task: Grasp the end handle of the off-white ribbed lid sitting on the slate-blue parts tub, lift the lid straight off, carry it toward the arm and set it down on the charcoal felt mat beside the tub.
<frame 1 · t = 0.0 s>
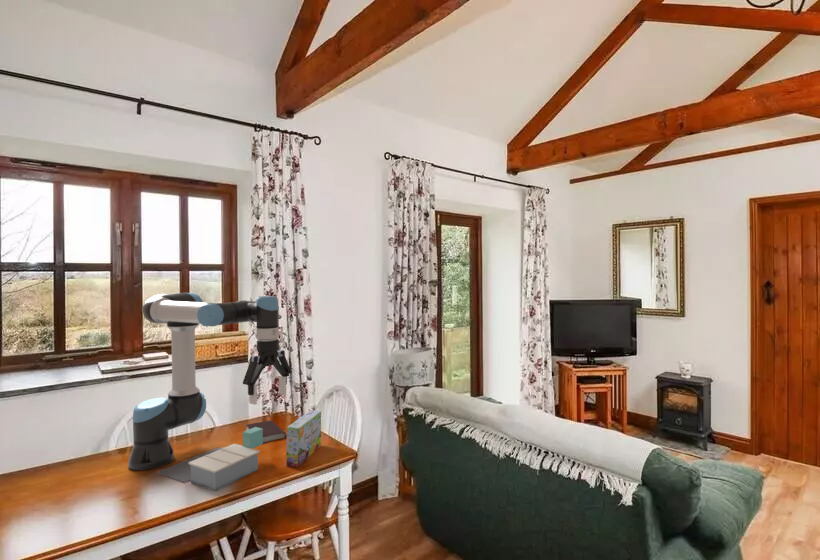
hand: (268, 398, 156), 28 cm above the table, fingers open, 13 cm apart
snack box: (304, 456, 174), on the table
mat: (203, 463, 167), on the table
book: (265, 435, 198), on the table
parts: (226, 470, 157), in the tub, point 1 cm above the table
tub: (225, 475, 157), on the table
lid: (225, 458, 157), point 6 cm above the table, touching tub
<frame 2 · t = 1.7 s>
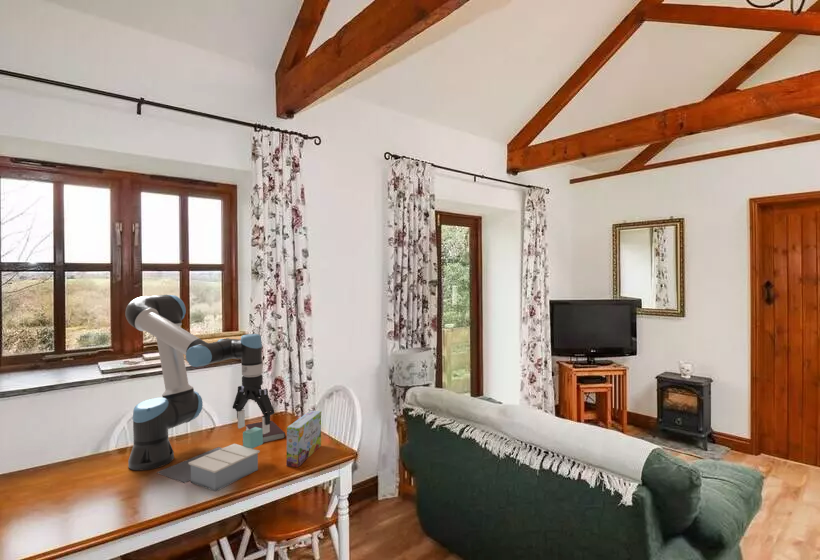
hand: (253, 430, 168), 13 cm above the table, fingers open, 13 cm apart
nothing on the table moved.
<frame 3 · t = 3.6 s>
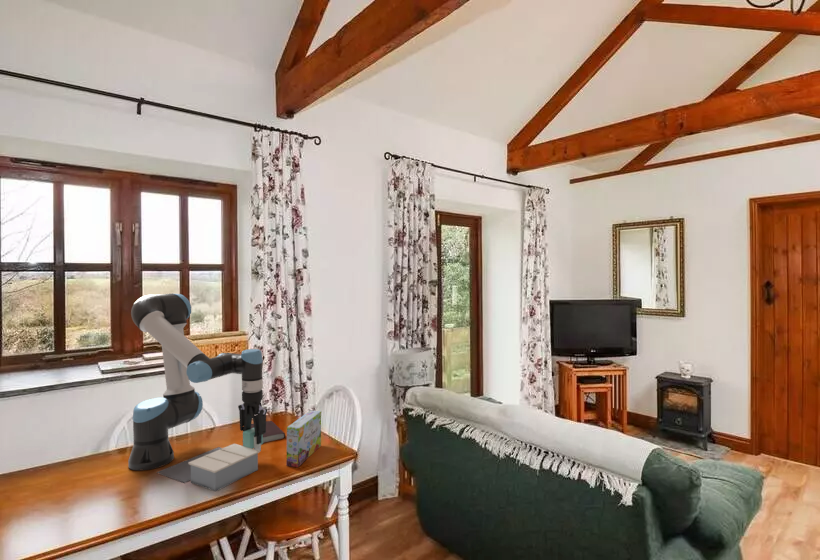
hand: (253, 450, 168), 5 cm above the table, fingers closed on lid, 4 cm apart
lid: (225, 458, 157), point 7 cm above the table, touching gripper, tub
everything else where it was.
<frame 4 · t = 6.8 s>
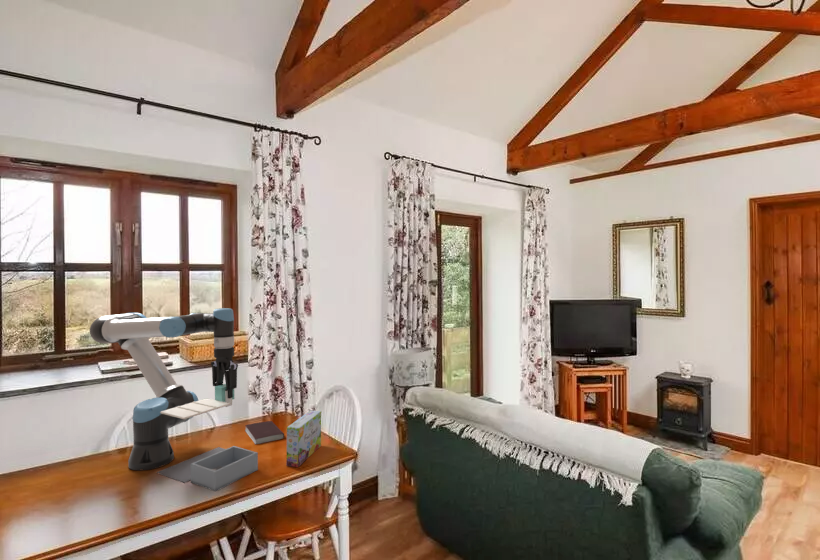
hand: (224, 404, 175), 20 cm above the table, fingers closed on lid, 4 cm apart
lid: (196, 408, 165), point 22 cm above the table, touching gripper
everything else where it was.
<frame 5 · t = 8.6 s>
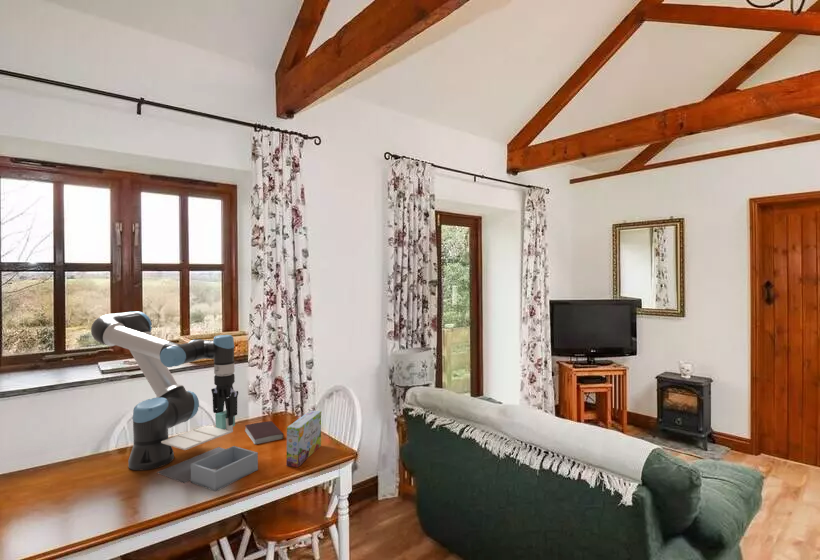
hand: (225, 431, 176), 9 cm above the table, fingers closed on lid, 4 cm apart
lid: (197, 437, 165), point 11 cm above the table, touching gripper
everything else where it was.
when the fingers open (1 cm above the table, at t = 10.1 s): lid drops 1 cm, point 1 cm above the table.
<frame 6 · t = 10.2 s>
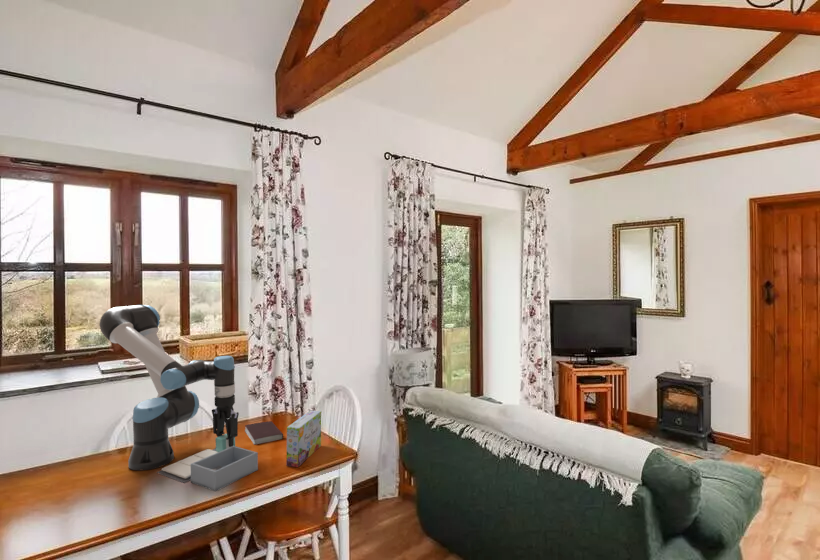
hand: (225, 452, 176), 1 cm above the table, fingers open, 4 cm apart
lid: (197, 463, 165), point 1 cm above the table
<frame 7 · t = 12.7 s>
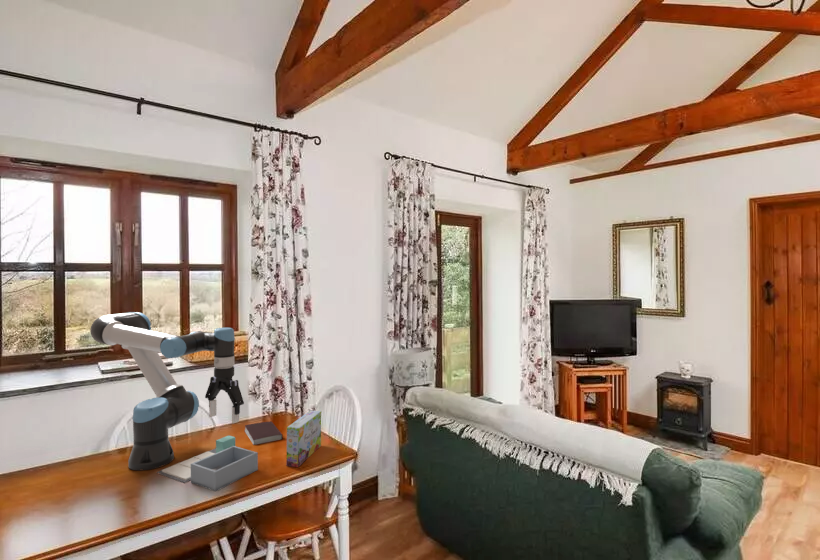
hand: (224, 419, 176), 14 cm above the table, fingers open, 13 cm apart
lid: (197, 465, 165), resting on mat
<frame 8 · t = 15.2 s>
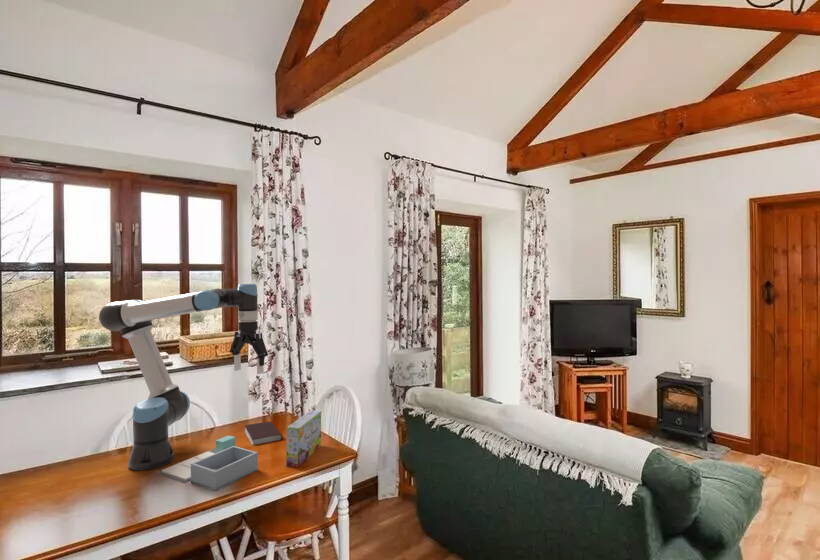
hand: (248, 371, 182), 32 cm above the table, fingers open, 13 cm apart
at the end: lid inside the target area (1.4 cm from its centre), resting on mat; lid touching mat; the gripper is holding nothing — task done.
